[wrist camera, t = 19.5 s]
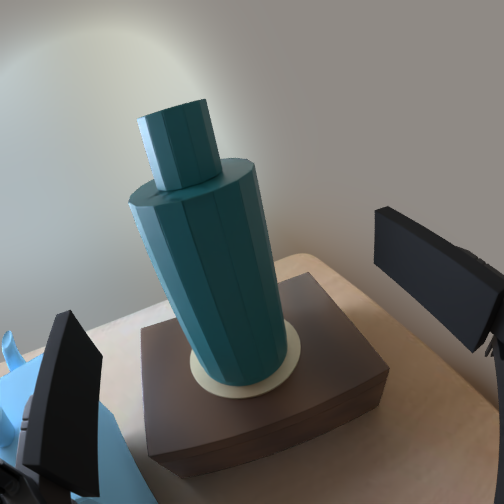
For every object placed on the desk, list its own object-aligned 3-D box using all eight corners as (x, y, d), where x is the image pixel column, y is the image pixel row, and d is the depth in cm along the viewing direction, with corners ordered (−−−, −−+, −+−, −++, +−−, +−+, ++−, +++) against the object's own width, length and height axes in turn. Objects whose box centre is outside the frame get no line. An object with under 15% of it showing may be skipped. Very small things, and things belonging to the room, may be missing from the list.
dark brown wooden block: (312, 313, 33) (308, 269, 30) (379, 405, 21) (390, 366, 18) (163, 364, 30) (139, 327, 27) (181, 478, 18) (146, 455, 15)
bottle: (269, 309, 26) (222, 95, 17) (302, 365, 20) (255, 87, 11) (195, 335, 25) (116, 126, 16) (210, 398, 19) (91, 134, 10)
